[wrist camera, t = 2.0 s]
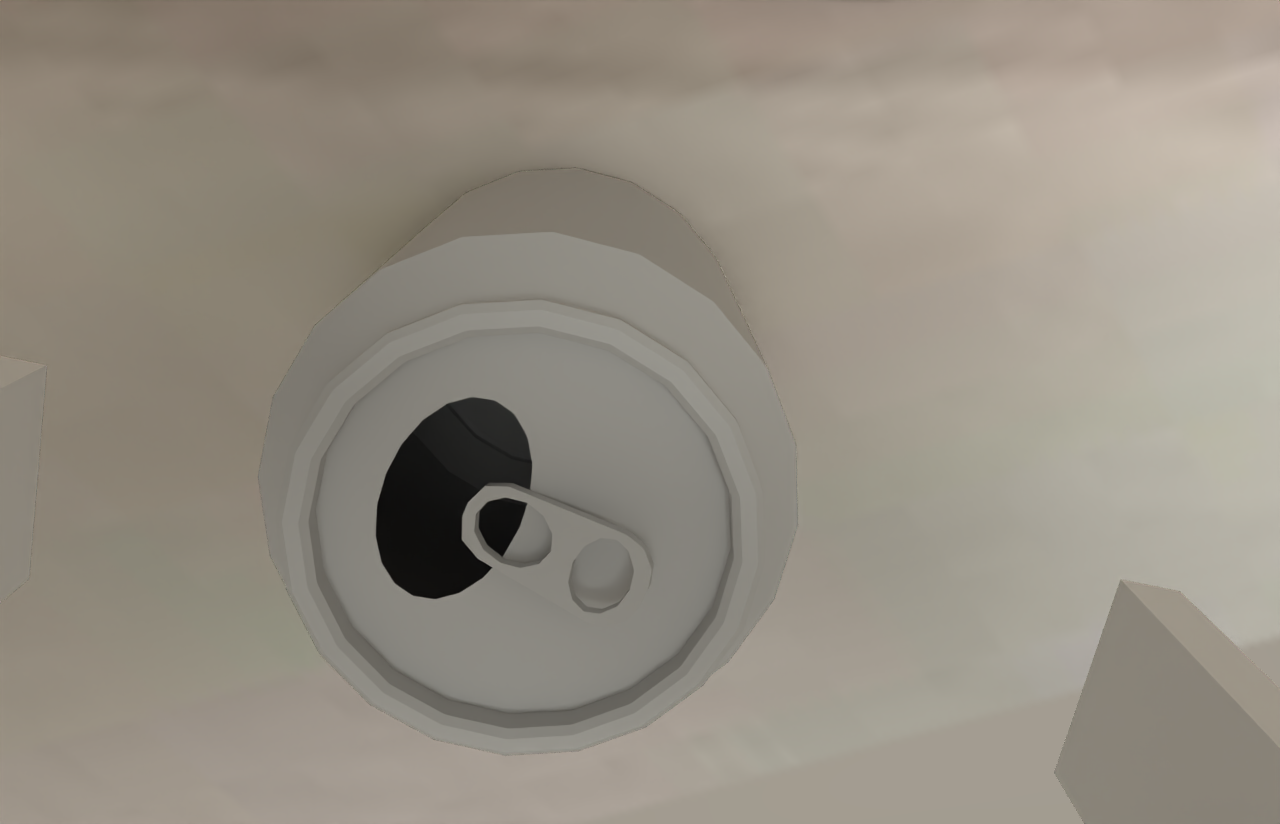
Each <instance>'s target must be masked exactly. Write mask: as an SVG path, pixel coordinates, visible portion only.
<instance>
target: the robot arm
mask: <svg viewBox="0 0 1280 824" xmlns="http://www.w3.org/2000/svg"><path fill="white" fill-rule="evenodd" d="M46 373H47V365H45V364H40V363H35V362H30V361H25V360H20V359H15V358H10V357H5V356H0V603H1V602H3V601H4V600H5V599H6V598H7V597H8V596H10V595H11V594H12V593H13V592H14V591H16V590H17V589H18V588H19V587H20V586H21V585H23V584H24V583H25V582H26V581H27V580H28V579H29V576H30V564H31V552H32V540H33V528H34V516H35V504H36V492H37V480H38V468H39V457H40V445H41V433H42V421H43V409H44V397H45V385H46ZM1054 773H1055V775H1056V777H1057V778H1058V780H1059V782H1060V783H1061V785H1062V787H1063V789H1064V790H1065V792H1066V794H1067V795H1068V797H1069V799H1070V800H1071V802H1072V804H1073V805H1074V807H1075V809H1076V811H1077V812H1078V814H1079V816H1080V817H1081V819H1082V821H1083V822H1084V824H1280V688H1279V687H1278V686H1277V685H1276V684H1275V683H1274V682H1273V681H1272V680H1271V679H1270V678H1269V677H1268V676H1267V675H1266V674H1265V673H1264V672H1263V671H1262V670H1261V669H1260V668H1259V667H1258V666H1257V665H1256V664H1255V663H1253V662H1252V661H1251V660H1250V659H1249V658H1248V657H1247V656H1246V655H1245V654H1244V653H1243V652H1242V651H1241V650H1240V649H1239V648H1238V647H1237V646H1236V645H1235V644H1234V643H1233V642H1232V641H1231V640H1230V639H1229V638H1228V637H1227V636H1226V635H1225V634H1224V633H1222V632H1221V631H1220V630H1219V629H1218V628H1217V627H1216V626H1215V625H1214V624H1213V623H1212V622H1211V621H1210V620H1209V619H1208V618H1207V617H1206V616H1205V615H1204V614H1203V613H1202V612H1201V611H1200V610H1199V609H1198V608H1197V607H1196V606H1195V605H1194V604H1193V603H1191V602H1190V601H1189V600H1188V599H1187V598H1186V597H1185V596H1184V595H1183V594H1182V593H1181V592H1180V591H1176V590H1171V589H1166V588H1161V587H1156V586H1151V585H1146V584H1141V583H1136V582H1131V581H1126V580H1120V583H1119V586H1118V588H1117V591H1116V594H1115V597H1114V600H1113V603H1112V606H1111V609H1110V612H1109V615H1108V618H1107V620H1106V623H1105V626H1104V629H1103V632H1102V635H1101V638H1100V641H1099V644H1098V647H1097V649H1096V652H1095V655H1094V658H1093V661H1092V664H1091V667H1090V670H1089V673H1088V676H1087V678H1086V681H1085V684H1084V687H1083V690H1082V693H1081V696H1080V699H1079V702H1078V705H1077V708H1076V710H1075V713H1074V716H1073V719H1072V722H1071V725H1070V728H1069V731H1068V734H1067V737H1066V739H1065V742H1064V746H1063V748H1062V751H1061V754H1060V757H1059V760H1058V763H1057V766H1056V768H1055V771H1054Z"/></svg>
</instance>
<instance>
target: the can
mask: <svg viewBox="0 0 1280 824" xmlns="http://www.w3.org/2000/svg"><path fill="white" fill-rule="evenodd" d="M258 480H259V487H260V493H261V500H262V507H263V513H264V520H265V526H266V533H267V539H268V546H269V553H270V557H271V559H272V561H273V563H274V565H275V567H276V569H277V570H278V572H279V574H280V576H281V578H282V580H283V582H284V584H285V586H286V590H287V592H288V594H289V596H290V598H291V600H292V602H293V604H294V606H295V608H296V610H297V612H298V613H299V615H300V617H301V619H302V621H303V623H304V625H305V627H306V629H307V631H308V633H309V635H310V637H311V639H312V641H313V643H314V645H315V647H316V649H317V650H318V652H319V654H320V655H321V656H322V657H323V658H324V659H325V660H326V661H327V662H328V663H329V664H330V665H331V666H332V667H333V668H334V669H335V670H336V671H337V672H338V673H339V674H340V675H341V676H342V677H343V678H344V679H345V680H346V681H347V682H348V683H349V684H350V685H351V686H352V687H353V688H354V689H355V690H356V691H357V692H358V693H359V694H360V695H361V696H362V697H363V698H364V699H365V700H366V701H367V702H368V703H369V704H370V705H371V706H373V707H375V708H377V709H379V710H380V711H382V712H384V713H386V714H388V715H390V716H391V717H393V718H395V719H397V720H399V721H401V722H402V723H404V724H406V725H408V726H410V727H412V728H413V729H415V730H417V731H419V732H421V733H423V734H425V735H426V736H428V737H430V738H432V739H434V740H438V741H442V742H447V743H451V744H456V745H460V746H465V747H469V748H474V749H478V750H483V751H487V752H492V753H496V754H501V755H505V756H507V755H524V754H541V753H558V752H575V751H580V750H583V749H586V748H589V747H592V746H595V745H597V744H600V743H603V742H606V741H609V740H611V739H614V738H617V737H620V736H623V735H626V734H628V733H631V732H634V731H637V730H640V729H643V728H645V727H647V726H648V725H650V724H651V723H652V722H654V721H655V720H657V719H658V718H659V717H661V716H662V715H663V714H665V713H666V712H667V711H669V710H670V709H672V708H673V707H674V706H676V705H677V704H678V703H680V702H681V701H682V700H684V699H685V698H687V697H688V696H689V695H691V694H692V693H693V692H695V691H696V690H697V689H699V688H700V687H702V686H703V685H704V683H705V682H706V681H707V679H708V678H709V677H710V675H711V674H713V673H714V672H716V671H717V670H718V669H720V668H721V667H722V666H724V665H725V664H726V663H728V662H729V661H730V659H731V658H732V656H733V655H734V654H735V652H736V651H737V650H738V648H739V647H740V645H741V644H742V643H743V641H744V640H745V639H746V637H747V636H748V634H749V633H750V632H751V630H752V629H753V628H754V626H755V625H756V624H757V622H758V621H759V619H760V618H761V617H762V615H763V614H764V613H765V611H766V610H767V608H768V607H769V606H770V604H771V603H772V602H773V600H774V598H775V595H776V592H777V589H778V586H779V583H780V580H781V576H782V573H783V570H784V567H785V564H786V561H787V558H788V554H789V551H790V548H791V545H792V542H793V539H794V536H795V533H796V529H797V526H798V504H797V458H796V443H795V441H794V438H793V435H792V432H791V430H790V427H789V424H788V422H787V419H786V416H785V414H784V411H783V408H782V405H781V403H780V400H779V397H778V395H777V392H776V389H775V387H774V384H773V381H772V378H771V376H770V373H769V370H768V368H767V366H766V364H765V361H764V359H763V357H762V355H761V353H760V351H759V349H758V347H757V344H756V342H755V340H754V338H753V336H752V334H751V332H750V330H749V327H748V325H747V323H746V321H745V319H744V317H743V315H742V313H741V310H740V308H739V306H738V304H737V302H736V300H735V298H734V296H733V293H732V291H731V289H730V287H729V285H728V283H727V281H726V279H725V277H724V274H723V272H722V270H721V268H720V266H719V264H718V262H717V260H716V257H715V256H714V255H713V254H712V252H711V251H710V250H709V249H708V247H707V246H706V245H705V244H704V243H703V241H702V240H701V239H700V238H699V236H698V235H697V234H696V233H695V231H694V230H693V229H692V228H691V226H690V225H689V224H688V223H687V221H686V220H685V219H684V218H683V216H682V215H681V214H680V213H679V212H677V211H675V210H674V209H672V208H671V207H669V206H668V205H666V204H665V203H663V202H662V201H660V200H658V199H657V198H655V197H654V196H652V195H651V194H649V193H648V192H646V191H645V190H643V189H642V188H640V187H638V186H637V185H635V184H634V183H632V182H628V181H625V180H621V179H617V178H613V177H610V176H606V175H602V174H598V173H594V172H591V171H587V170H583V169H579V168H565V169H548V170H531V171H518V172H516V173H513V174H511V175H508V176H506V177H503V178H501V179H498V180H496V181H493V182H491V183H488V184H486V185H483V186H481V187H478V188H476V189H473V190H471V191H468V192H466V193H465V194H464V195H463V196H461V197H460V198H459V199H458V200H457V201H456V202H454V203H453V204H452V205H451V206H450V207H448V208H447V209H446V210H445V211H444V212H443V213H441V214H440V215H439V216H438V217H437V218H436V219H434V220H433V221H432V222H431V223H430V224H429V225H427V226H426V227H425V228H424V229H423V230H422V231H420V232H419V233H418V234H417V235H416V236H415V237H414V238H413V239H411V240H410V241H409V242H408V243H407V244H406V245H405V246H404V247H402V248H401V249H400V250H399V251H398V252H397V253H396V254H395V255H393V256H392V257H391V258H390V259H389V260H388V261H387V262H386V263H384V264H383V265H382V266H381V267H380V268H379V269H378V270H376V271H375V272H374V273H373V274H372V275H371V276H370V277H369V278H367V279H366V280H365V281H364V282H363V283H362V284H361V285H360V286H358V287H357V288H356V289H355V290H354V291H353V292H352V293H351V294H349V295H348V296H347V297H346V298H345V299H344V300H343V301H342V302H340V303H339V304H338V305H337V306H336V307H335V308H334V309H333V310H331V311H330V312H329V313H328V314H327V315H326V316H325V317H324V318H322V319H321V320H320V321H319V322H318V323H317V324H316V325H315V326H314V327H313V329H312V331H311V333H310V334H309V336H308V338H307V339H306V341H305V343H304V345H303V346H302V348H301V350H300V351H299V353H298V355H297V357H296V358H295V360H294V362H293V363H292V365H291V367H290V369H289V370H288V372H287V374H286V375H285V377H284V379H283V381H282V382H281V384H280V386H279V388H278V389H277V391H276V393H275V394H274V396H273V399H272V405H271V410H270V415H269V421H268V426H267V431H266V437H265V442H264V447H263V453H262V458H261V463H260V469H259V474H258Z"/></svg>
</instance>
